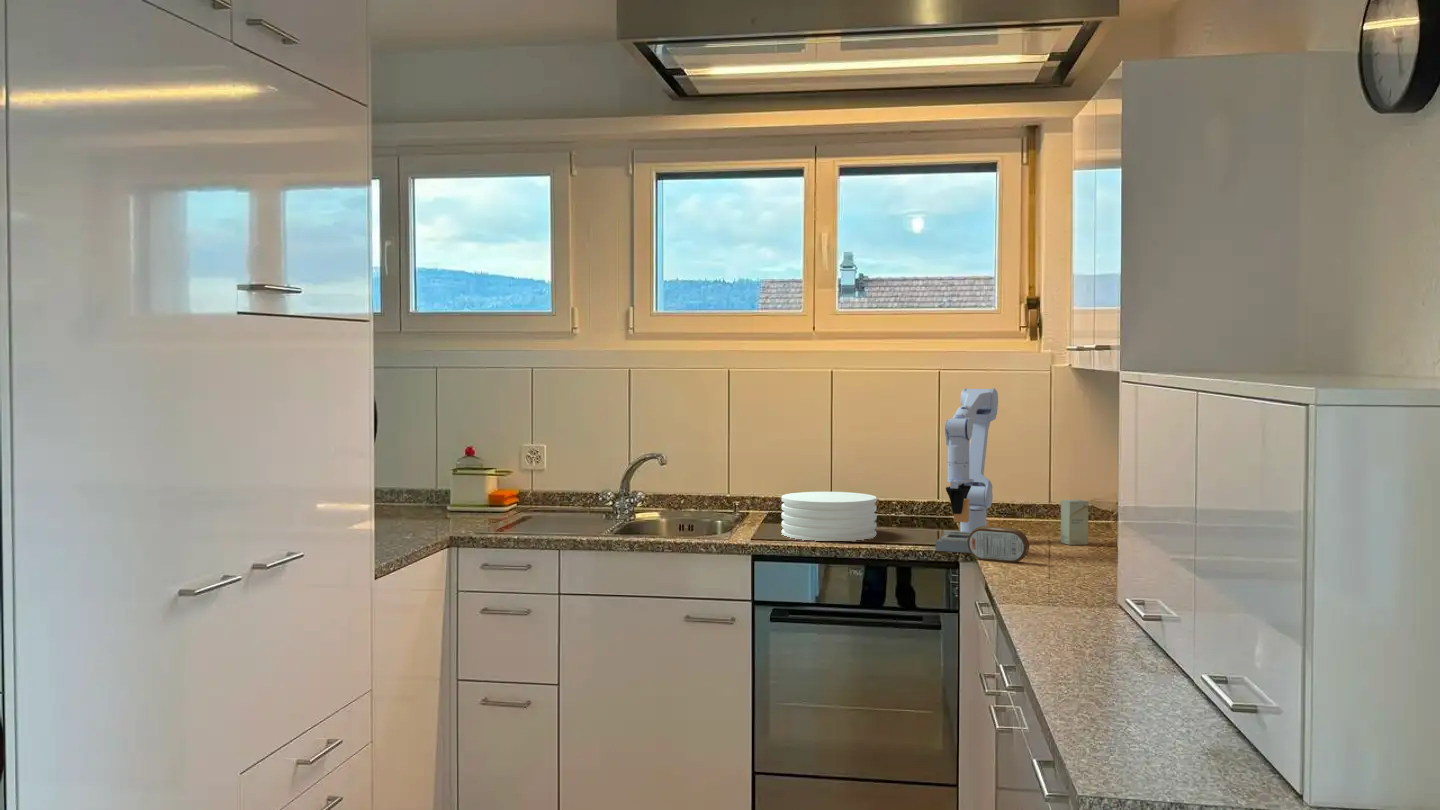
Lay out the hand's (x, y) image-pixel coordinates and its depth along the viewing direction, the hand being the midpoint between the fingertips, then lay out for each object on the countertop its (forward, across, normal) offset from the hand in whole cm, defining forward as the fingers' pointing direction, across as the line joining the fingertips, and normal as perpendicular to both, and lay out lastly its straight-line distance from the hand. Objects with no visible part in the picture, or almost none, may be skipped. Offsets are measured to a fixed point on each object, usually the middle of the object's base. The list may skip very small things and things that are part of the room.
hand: (958, 512), depth 260 cm
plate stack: (+10, +11, +40) cm, 42 cm away
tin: (+10, -15, -12) cm, 22 cm away
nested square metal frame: (+10, 0, 0) cm, 10 cm away
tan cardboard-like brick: (+2, 0, -1) cm, 2 cm away
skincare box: (+10, +21, -28) cm, 37 cm away
